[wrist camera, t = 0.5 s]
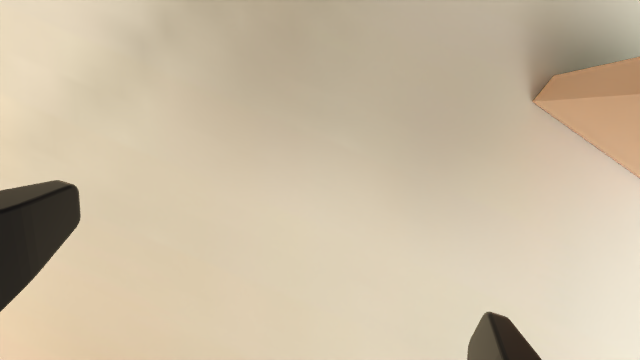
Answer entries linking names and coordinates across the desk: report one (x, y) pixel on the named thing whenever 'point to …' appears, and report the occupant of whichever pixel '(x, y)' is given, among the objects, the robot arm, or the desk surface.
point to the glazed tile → (600, 108)
